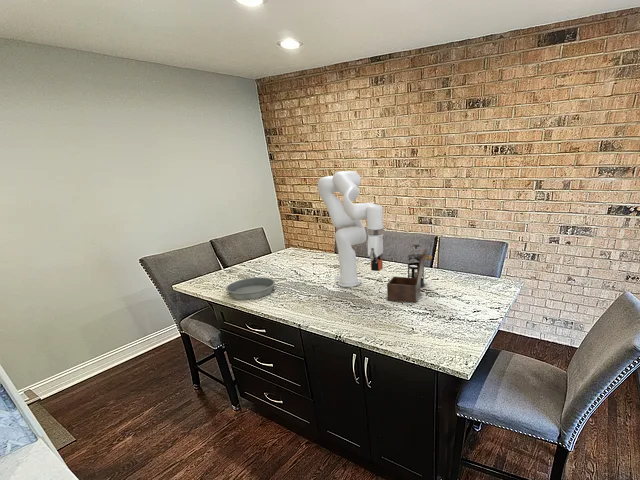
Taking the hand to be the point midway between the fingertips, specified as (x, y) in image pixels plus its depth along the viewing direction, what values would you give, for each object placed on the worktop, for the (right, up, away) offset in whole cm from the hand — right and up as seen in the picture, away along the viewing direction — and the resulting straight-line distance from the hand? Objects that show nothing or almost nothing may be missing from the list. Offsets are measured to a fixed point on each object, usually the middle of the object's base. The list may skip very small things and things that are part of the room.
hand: (376, 268), depth 166 cm
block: (0, 0, 0) cm, 0 cm away
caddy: (+14, -14, +8) cm, 21 cm away
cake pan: (-69, -11, +18) cm, 72 cm away
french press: (+20, -7, +24) cm, 33 cm away
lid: (+21, +1, -1) cm, 21 cm away
